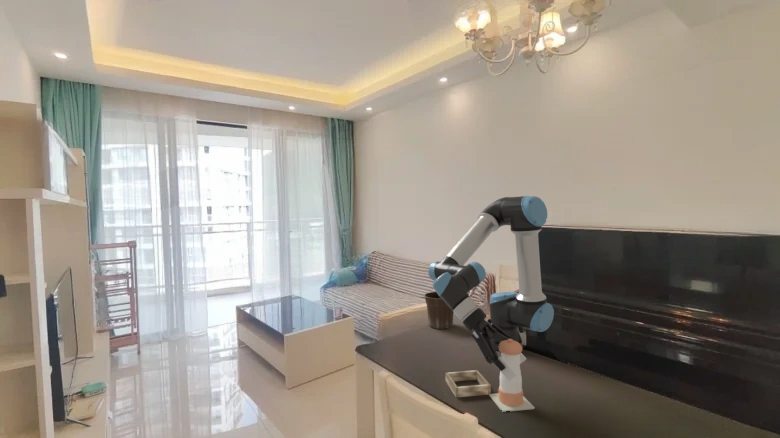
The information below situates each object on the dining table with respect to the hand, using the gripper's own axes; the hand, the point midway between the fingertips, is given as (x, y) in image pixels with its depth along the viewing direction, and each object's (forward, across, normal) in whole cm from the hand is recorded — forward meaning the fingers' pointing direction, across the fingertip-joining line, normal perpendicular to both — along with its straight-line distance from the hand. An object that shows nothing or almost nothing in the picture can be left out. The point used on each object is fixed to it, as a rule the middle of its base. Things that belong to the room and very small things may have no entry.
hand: (518, 369), depth 114 cm
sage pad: (+6, 0, -9) cm, 11 cm away
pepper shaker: (+6, 0, -9) cm, 11 cm away
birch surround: (-5, -2, -20) cm, 20 cm away
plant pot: (-30, -60, -45) cm, 81 cm away
